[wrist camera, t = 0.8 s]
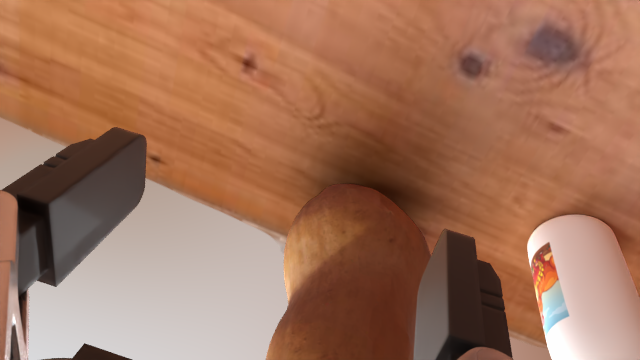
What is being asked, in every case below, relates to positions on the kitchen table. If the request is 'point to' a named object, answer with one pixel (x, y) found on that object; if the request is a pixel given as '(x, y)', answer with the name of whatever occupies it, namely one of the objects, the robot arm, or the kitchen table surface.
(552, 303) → the milk bottle
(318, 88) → the kitchen table surface
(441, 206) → the kitchen table surface
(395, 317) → the butternut squash
